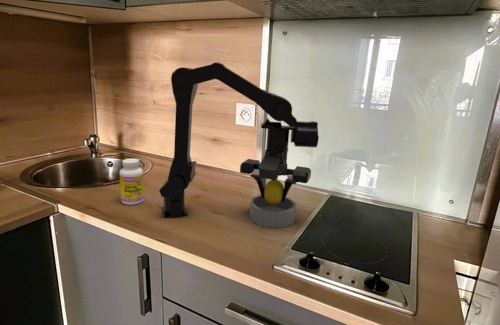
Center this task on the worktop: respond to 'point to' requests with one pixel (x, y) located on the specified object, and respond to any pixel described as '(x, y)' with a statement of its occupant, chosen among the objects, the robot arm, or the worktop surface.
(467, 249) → the worktop surface
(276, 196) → the lemon
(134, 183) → the supplement bottle
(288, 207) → the bowl
